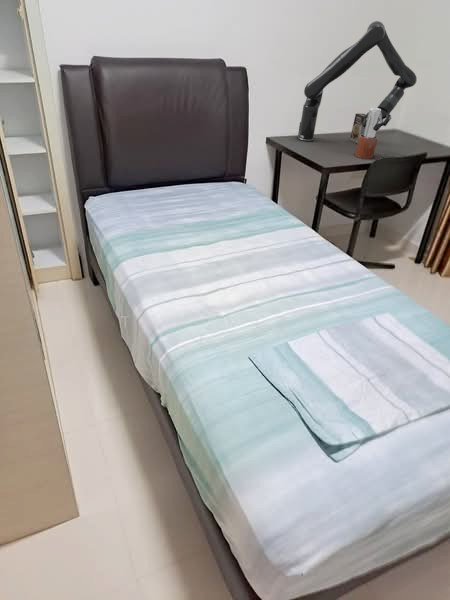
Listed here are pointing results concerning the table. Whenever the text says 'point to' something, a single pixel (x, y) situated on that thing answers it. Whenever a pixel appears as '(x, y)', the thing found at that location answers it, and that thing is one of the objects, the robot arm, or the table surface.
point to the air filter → (372, 123)
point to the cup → (365, 147)
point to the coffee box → (357, 127)
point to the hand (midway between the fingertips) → (369, 128)
